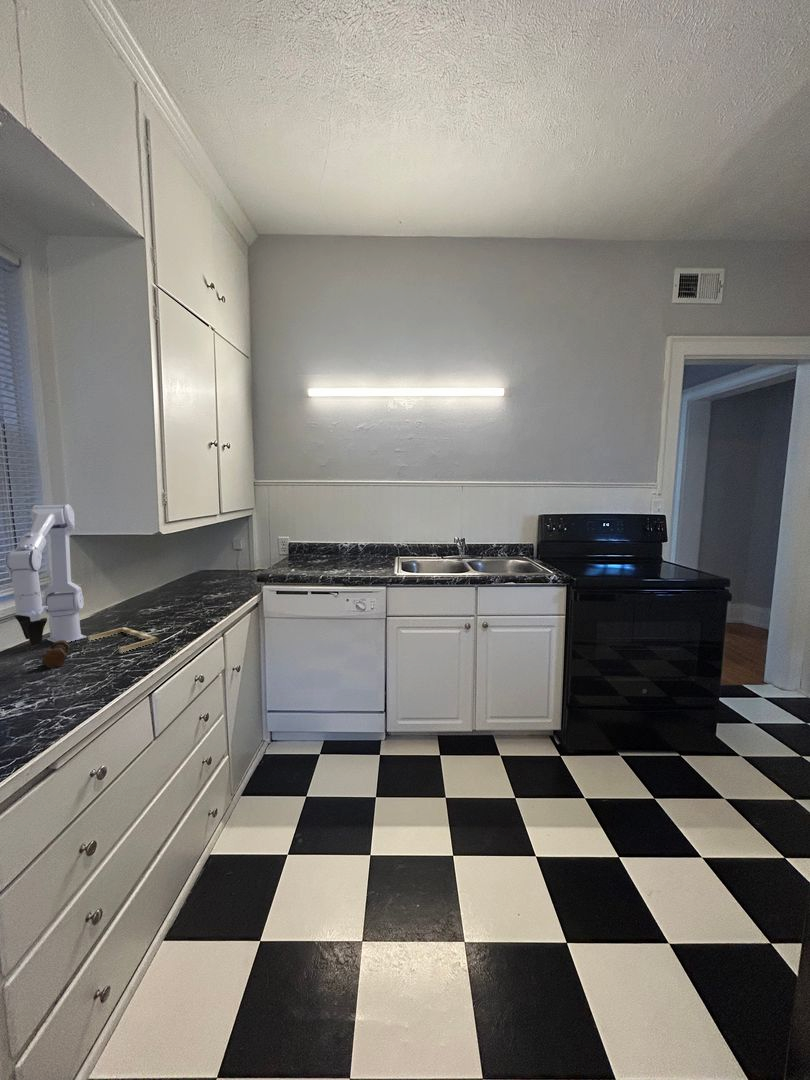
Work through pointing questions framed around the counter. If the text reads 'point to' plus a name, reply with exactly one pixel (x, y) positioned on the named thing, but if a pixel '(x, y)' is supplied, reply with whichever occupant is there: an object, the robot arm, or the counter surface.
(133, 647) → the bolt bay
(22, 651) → the counter surface
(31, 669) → the counter surface
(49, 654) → the bolt
